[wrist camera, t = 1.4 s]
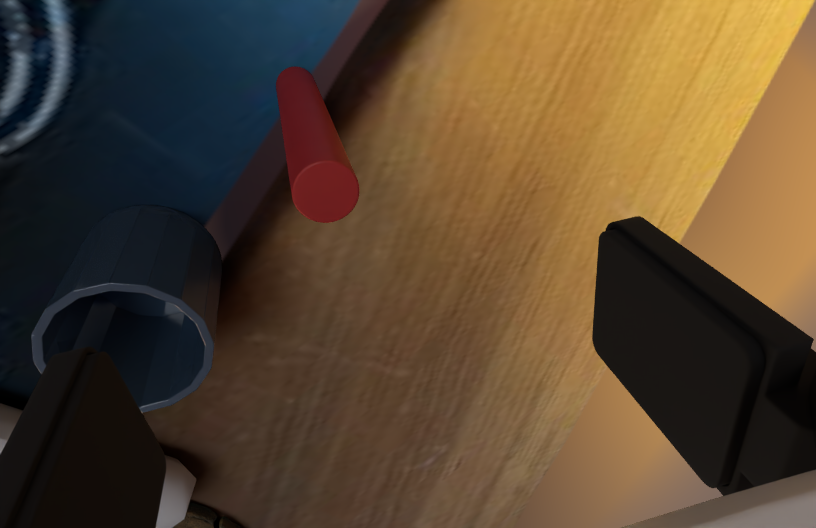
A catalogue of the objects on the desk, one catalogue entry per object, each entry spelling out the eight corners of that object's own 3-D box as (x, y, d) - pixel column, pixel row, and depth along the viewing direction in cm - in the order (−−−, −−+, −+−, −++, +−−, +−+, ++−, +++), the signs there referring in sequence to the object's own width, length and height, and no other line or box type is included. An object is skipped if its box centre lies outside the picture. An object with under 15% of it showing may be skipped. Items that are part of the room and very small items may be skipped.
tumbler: (57, 221, 28) (-4, 308, 21) (197, 191, 29) (181, 266, 22) (115, 328, 32) (78, 430, 25) (237, 298, 33) (233, 389, 26)
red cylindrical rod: (271, 70, 27) (284, 168, 15) (311, 62, 27) (353, 154, 15) (281, 110, 28) (300, 230, 16) (319, 102, 28) (365, 215, 17)
